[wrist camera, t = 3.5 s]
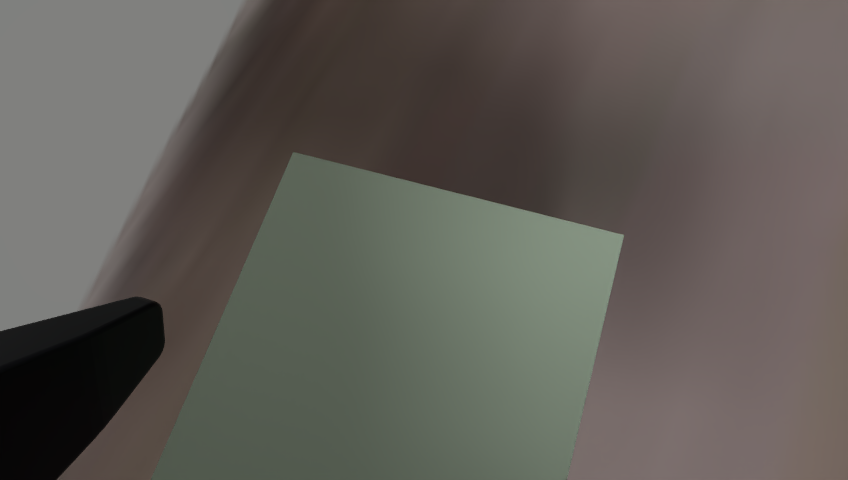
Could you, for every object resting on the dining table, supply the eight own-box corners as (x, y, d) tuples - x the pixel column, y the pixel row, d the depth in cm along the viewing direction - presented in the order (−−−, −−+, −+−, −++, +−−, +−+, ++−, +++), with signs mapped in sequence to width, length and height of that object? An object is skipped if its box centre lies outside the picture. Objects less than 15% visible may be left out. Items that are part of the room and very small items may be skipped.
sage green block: (507, 521, 16) (529, 641, 6) (356, 466, 17) (147, 487, 7) (548, 363, 17) (623, 235, 7) (406, 320, 18) (292, 151, 8)
